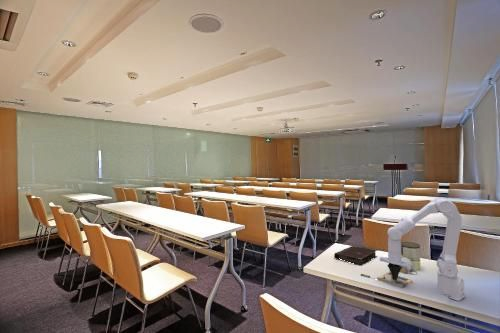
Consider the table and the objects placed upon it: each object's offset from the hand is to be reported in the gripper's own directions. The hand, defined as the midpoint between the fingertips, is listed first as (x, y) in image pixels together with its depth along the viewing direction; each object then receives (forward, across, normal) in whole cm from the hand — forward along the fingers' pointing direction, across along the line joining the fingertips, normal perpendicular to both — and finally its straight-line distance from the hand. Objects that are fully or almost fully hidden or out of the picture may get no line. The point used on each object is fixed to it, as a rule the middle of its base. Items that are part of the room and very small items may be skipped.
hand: (395, 279), depth 129 cm
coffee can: (+3, +7, -32) cm, 32 cm away
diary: (+4, +36, -23) cm, 42 cm away
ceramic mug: (+3, +4, -22) cm, 22 cm away
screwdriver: (+3, +12, +3) cm, 12 cm away
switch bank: (+3, +2, -3) cm, 5 cm away
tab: (+2, +3, 0) cm, 3 cm away
